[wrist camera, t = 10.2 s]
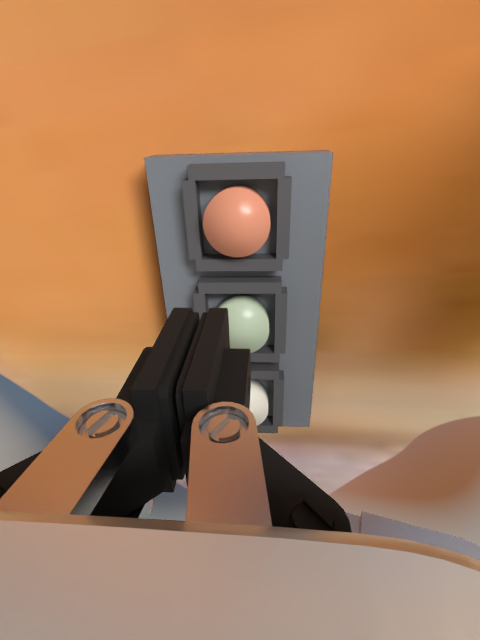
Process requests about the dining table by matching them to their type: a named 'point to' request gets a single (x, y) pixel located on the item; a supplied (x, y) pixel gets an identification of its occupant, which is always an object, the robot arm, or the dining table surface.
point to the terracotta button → (237, 221)
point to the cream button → (258, 401)
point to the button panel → (251, 258)
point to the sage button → (246, 322)
